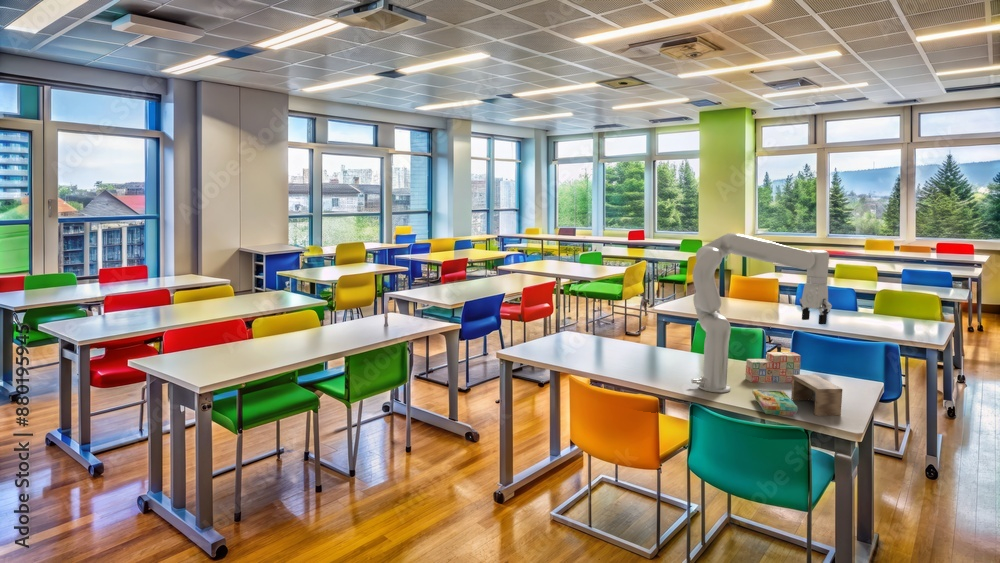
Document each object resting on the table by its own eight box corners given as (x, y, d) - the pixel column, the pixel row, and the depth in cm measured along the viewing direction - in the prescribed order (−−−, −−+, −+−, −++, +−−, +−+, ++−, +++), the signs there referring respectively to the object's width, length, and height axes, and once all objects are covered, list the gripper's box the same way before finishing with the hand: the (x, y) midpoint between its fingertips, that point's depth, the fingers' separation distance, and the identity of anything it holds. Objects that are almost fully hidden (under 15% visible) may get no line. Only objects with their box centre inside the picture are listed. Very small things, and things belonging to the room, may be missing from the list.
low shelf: (816, 415, 222) (818, 389, 220) (791, 399, 240) (792, 374, 239) (840, 415, 222) (842, 388, 220) (813, 399, 240) (815, 374, 239)
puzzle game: (763, 403, 222) (752, 387, 241) (762, 415, 222) (752, 398, 242) (797, 405, 219) (784, 389, 239) (797, 417, 220) (783, 400, 239)
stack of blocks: (751, 383, 263) (752, 355, 262) (745, 379, 269) (746, 352, 268) (799, 382, 264) (801, 355, 262) (792, 378, 270) (793, 351, 269)
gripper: (794, 278, 254) (791, 318, 256) (824, 283, 237) (821, 326, 239) (809, 278, 255) (806, 318, 257) (840, 283, 238) (837, 325, 240)
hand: (813, 321), depth 248 cm, fingers open, 9 cm apart
